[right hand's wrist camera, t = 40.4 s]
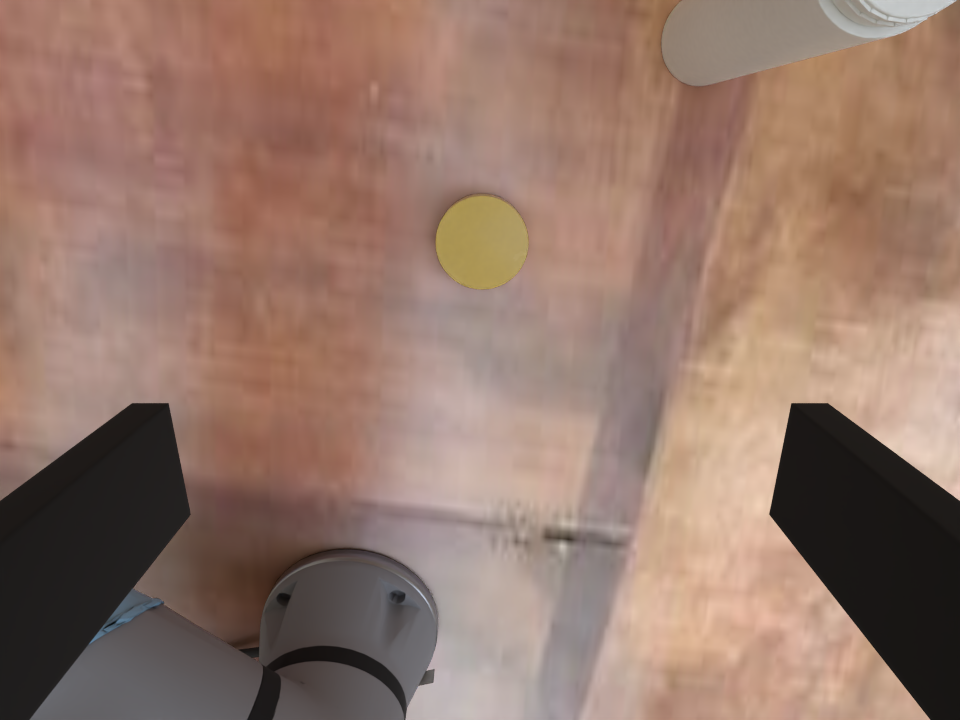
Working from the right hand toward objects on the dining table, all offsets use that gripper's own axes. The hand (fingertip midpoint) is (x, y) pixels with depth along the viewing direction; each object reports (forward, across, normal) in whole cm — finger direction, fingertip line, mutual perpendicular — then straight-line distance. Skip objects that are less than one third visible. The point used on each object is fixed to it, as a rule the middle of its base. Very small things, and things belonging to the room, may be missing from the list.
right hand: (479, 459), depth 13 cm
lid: (+29, 0, 0) cm, 29 cm away
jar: (+30, -14, -13) cm, 36 cm away
